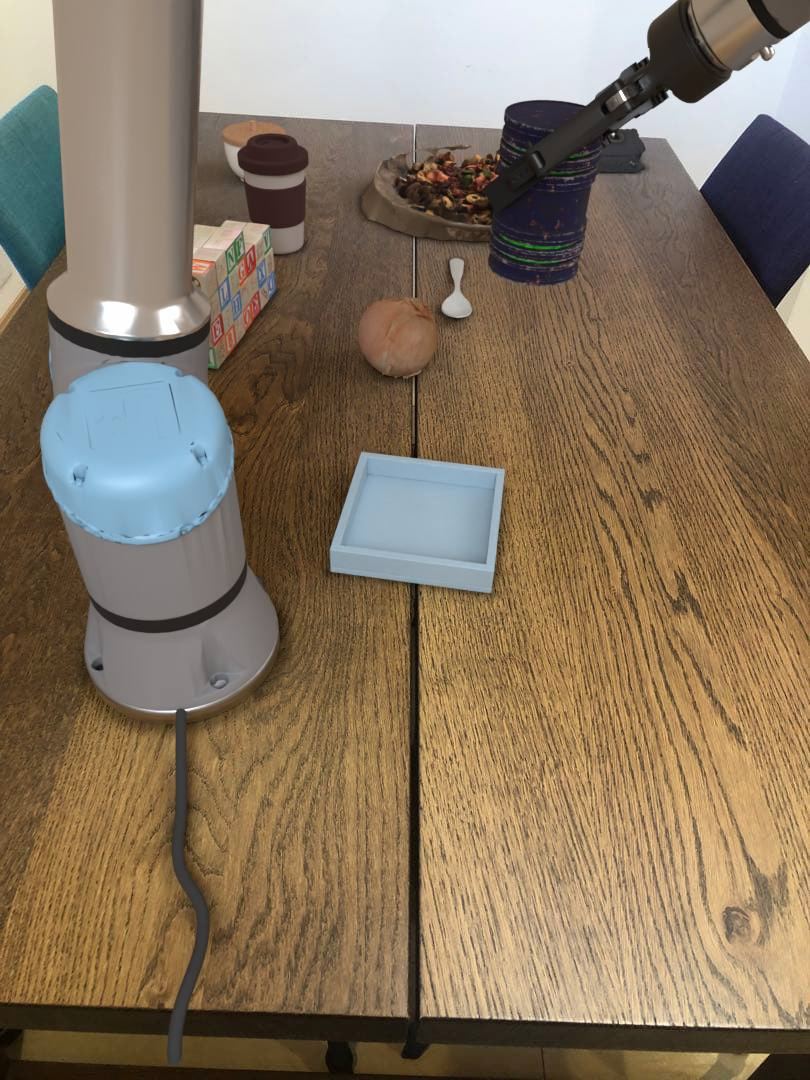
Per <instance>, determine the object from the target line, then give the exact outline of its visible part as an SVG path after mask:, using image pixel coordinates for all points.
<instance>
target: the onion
mask: <svg viewBox="0 0 810 1080" xmlns="http://www.w3.org/2000/svg"><path fill="white" fill-rule="evenodd" d="M430 310H431V309H429V308H428V305H425V302H424V301H422V299H420V298H418V297H413V296H410V297H409V296H405V297H403V296H402V297H386V298H382V299H380V300H377V301H375V302H374V303H371V304H370V305H369V306H368V307H367V309H366V310H365V311H364V313H363V314H362V316H361V318H360V319H359V323H358V328H357V334H356V335H357V342H358V346H359V349H360V351H361V353H362V355H363V356H364V358H365V359H366V360H367V364H369V365H371V366H372V367H373V368H374V369H375V370H376V371H377V372H378V373H381V375H382V376H384V375H385V376H387V377H393V378H395V379H397V378H401V377H402V378H403V379H404V380H406V379H407V380H409V378H410V377H414V376H417V375H419V374H420V373H421V372H422V371H423V369H424V368H425V366H427V364H429V362H431V360H432V358H433V356H434V355H435V352H436V349H437V344H438V329H437V325H436V322H435V317H434V316H433V314H432V313H431V311H430Z"/></svg>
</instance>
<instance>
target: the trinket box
mask: <svg viewBox="0 0 810 1080" xmlns="http://www.w3.org/2000/svg"><path fill="white" fill-rule="evenodd" d="M266 133H277V134H285V135H287V131H286V130H285V128H284V127H282V126H281V125H278V124H277V123H273V122H267V121H257V120H256V119H250V120H249V121H241V122H236V123H233V124H229V125H227V126H226V127H224V128H223V129H222V130H221V138H222V140H223V149H224V154H225V157H226V161H227V163H228V165H229V167H230V169H231V171H233V173H234V174H235V176H237V177H239V178H240V181H241V182H243V183H244V171H243V169H241V168H240V167H239V165H238V158H237V153H238V151H239V150H240V149H241V148H242V147H244V146H246V145H247V141H248V140H249V139H250V138H251V137H253V136H256V135H259V134H266Z"/></svg>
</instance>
